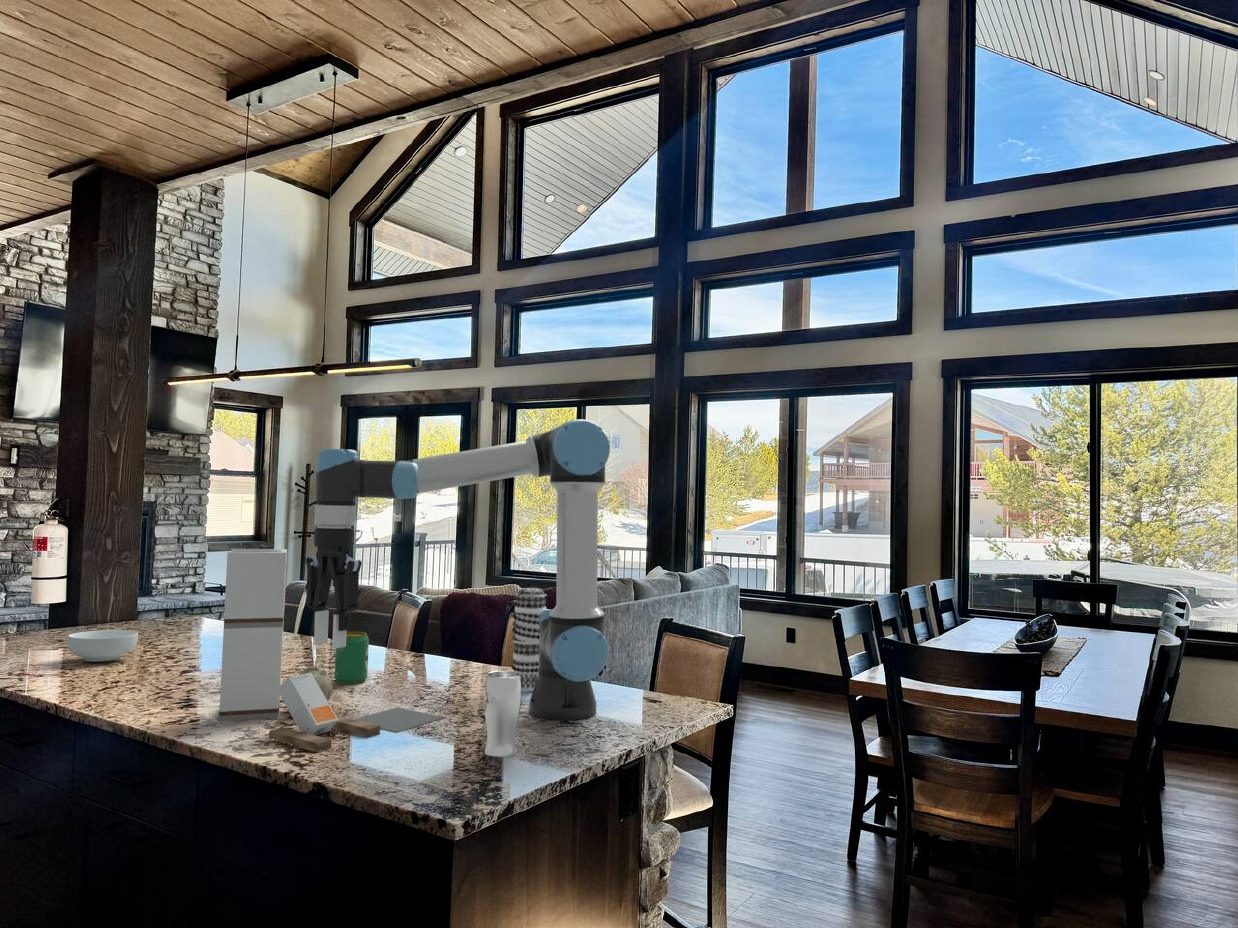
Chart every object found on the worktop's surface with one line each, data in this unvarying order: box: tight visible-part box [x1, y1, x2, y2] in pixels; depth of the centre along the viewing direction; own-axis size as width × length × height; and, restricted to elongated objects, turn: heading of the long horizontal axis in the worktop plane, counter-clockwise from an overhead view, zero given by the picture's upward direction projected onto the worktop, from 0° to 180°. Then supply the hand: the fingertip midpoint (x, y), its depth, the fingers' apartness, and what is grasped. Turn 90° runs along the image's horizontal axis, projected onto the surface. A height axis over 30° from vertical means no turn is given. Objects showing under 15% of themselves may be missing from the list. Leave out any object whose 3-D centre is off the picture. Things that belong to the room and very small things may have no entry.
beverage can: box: [334, 631, 370, 685], centre depth 211 cm, size 8×8×12 cm
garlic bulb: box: [297, 665, 333, 702], centre depth 179 cm, size 10×8×10 cm
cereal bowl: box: [66, 629, 139, 662], centre depth 229 cm, size 17×17×7 cm
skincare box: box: [278, 673, 338, 736], centre depth 163 cm, size 6×4×12 cm
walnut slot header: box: [268, 714, 381, 752], centre depth 161 cm, size 14×15×2 cm
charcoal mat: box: [353, 706, 446, 734], centre depth 174 cm, size 14×14×1 cm
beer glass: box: [483, 670, 522, 758], centre depth 154 cm, size 7×7×15 cm
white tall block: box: [218, 548, 288, 722], centre depth 178 cm, size 11×11×35 cm
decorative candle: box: [511, 587, 548, 692], centre depth 209 cm, size 9×9×25 cm
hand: (329, 645), depth 161 cm, fingers open, 5 cm apart
